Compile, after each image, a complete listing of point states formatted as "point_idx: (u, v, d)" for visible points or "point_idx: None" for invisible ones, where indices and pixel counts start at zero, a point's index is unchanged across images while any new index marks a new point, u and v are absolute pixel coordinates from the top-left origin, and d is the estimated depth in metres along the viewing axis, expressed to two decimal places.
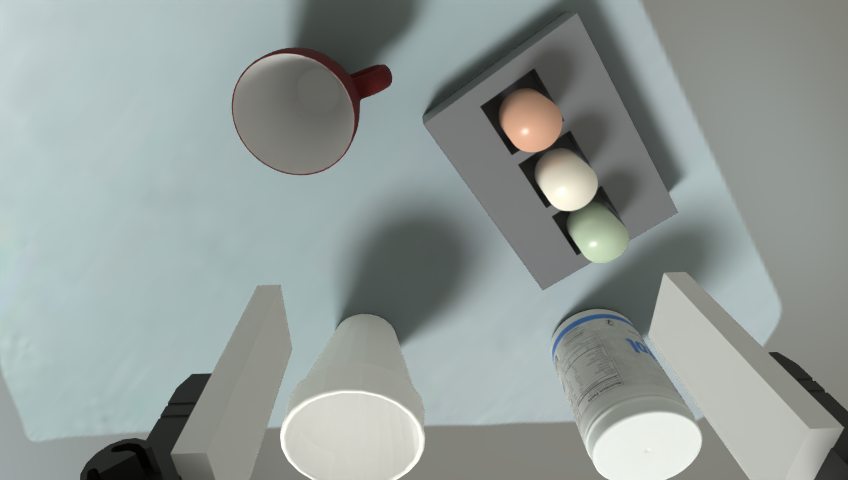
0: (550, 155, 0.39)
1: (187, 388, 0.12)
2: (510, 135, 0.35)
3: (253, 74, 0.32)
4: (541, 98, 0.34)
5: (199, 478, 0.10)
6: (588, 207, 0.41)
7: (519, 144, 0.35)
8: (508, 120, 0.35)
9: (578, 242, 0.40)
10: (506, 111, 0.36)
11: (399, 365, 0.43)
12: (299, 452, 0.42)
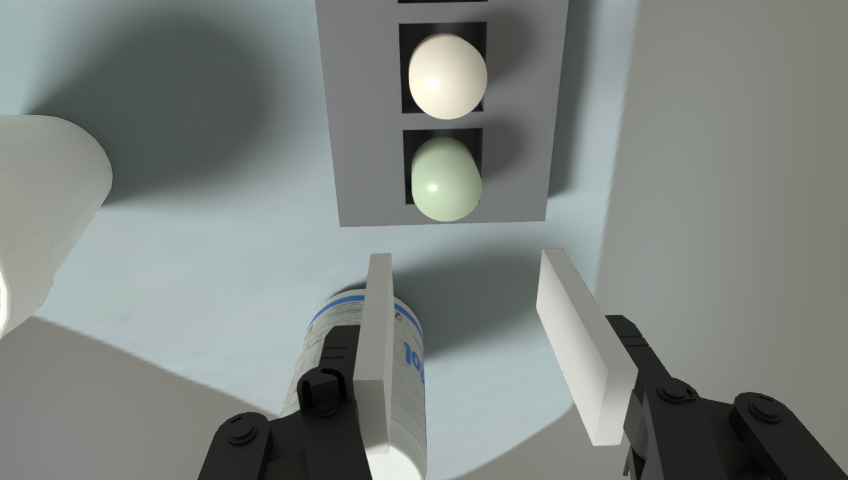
0: (445, 33, 0.26)
1: (335, 336, 0.14)
2: None
3: None
4: None
5: (371, 403, 0.12)
6: (452, 142, 0.29)
7: None
8: None
9: (415, 172, 0.27)
10: None
11: (56, 200, 0.25)
12: None
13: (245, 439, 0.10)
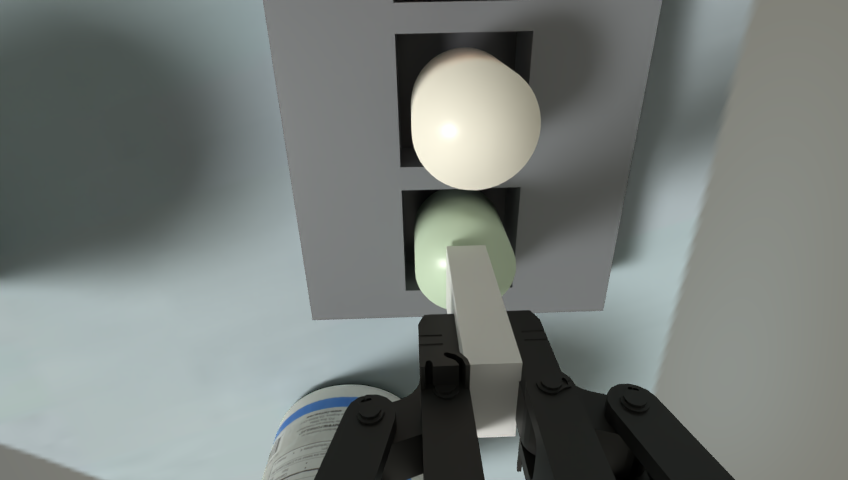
0: (469, 50, 0.16)
1: (427, 324, 0.15)
2: None
3: None
4: None
5: (479, 387, 0.13)
6: (471, 196, 0.20)
7: None
8: None
9: (419, 244, 0.19)
10: None
11: None
12: None
13: (372, 420, 0.11)
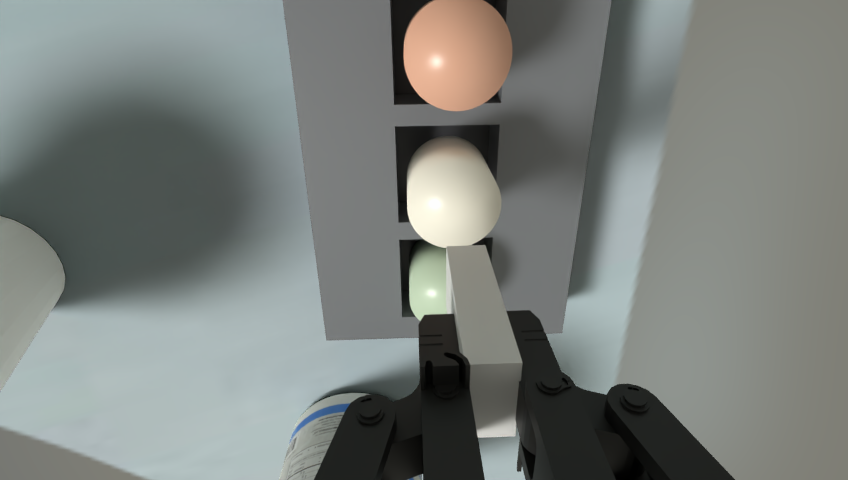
0: (450, 141, 0.22)
1: (427, 324, 0.15)
2: (407, 43, 0.17)
3: None
4: (496, 12, 0.17)
5: (479, 387, 0.13)
6: None
7: (413, 71, 0.18)
8: (419, 13, 0.17)
9: (413, 279, 0.25)
10: (425, 5, 0.18)
11: None
12: None
13: (372, 420, 0.11)
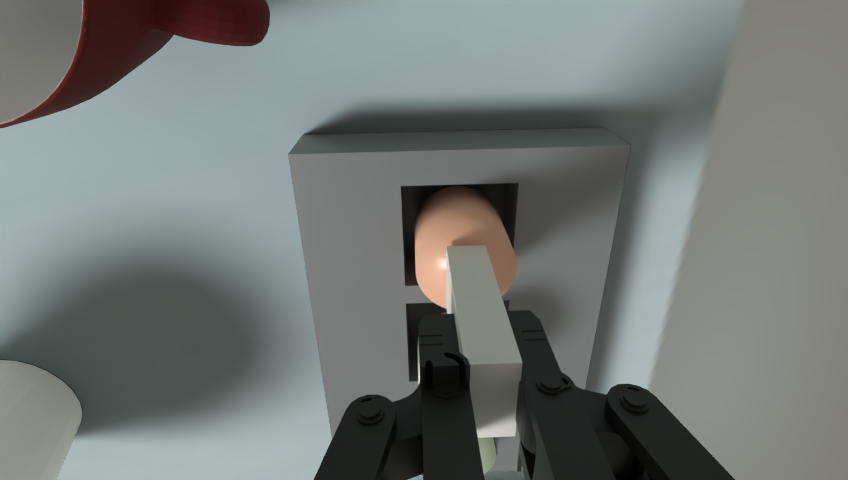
0: None
1: (427, 324, 0.15)
2: (418, 261, 0.18)
3: None
4: (501, 236, 0.18)
5: (479, 387, 0.13)
6: None
7: (424, 282, 0.19)
8: (430, 236, 0.18)
9: None
10: (435, 215, 0.19)
11: None
12: None
13: (372, 420, 0.11)
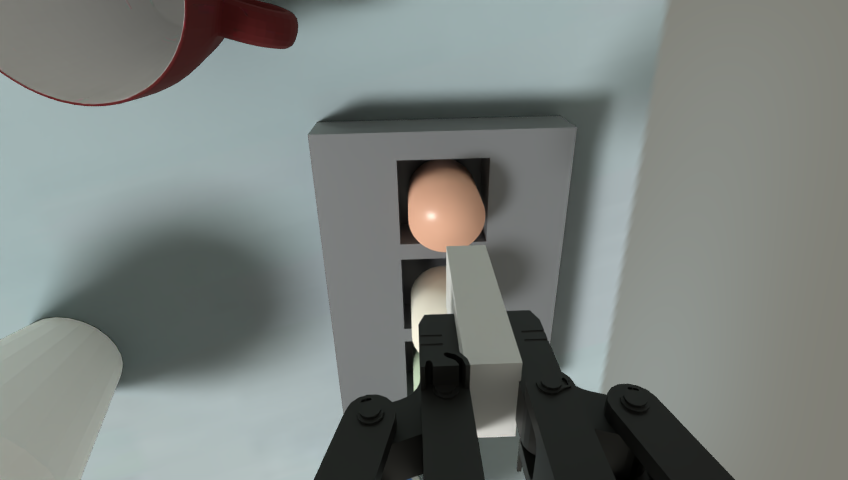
0: None
1: (427, 324, 0.15)
2: (410, 211, 0.24)
3: None
4: (473, 190, 0.24)
5: (479, 387, 0.13)
6: None
7: (415, 228, 0.25)
8: (419, 191, 0.24)
9: (416, 375, 0.30)
10: (423, 178, 0.25)
11: (72, 442, 0.26)
12: None
13: (373, 420, 0.11)
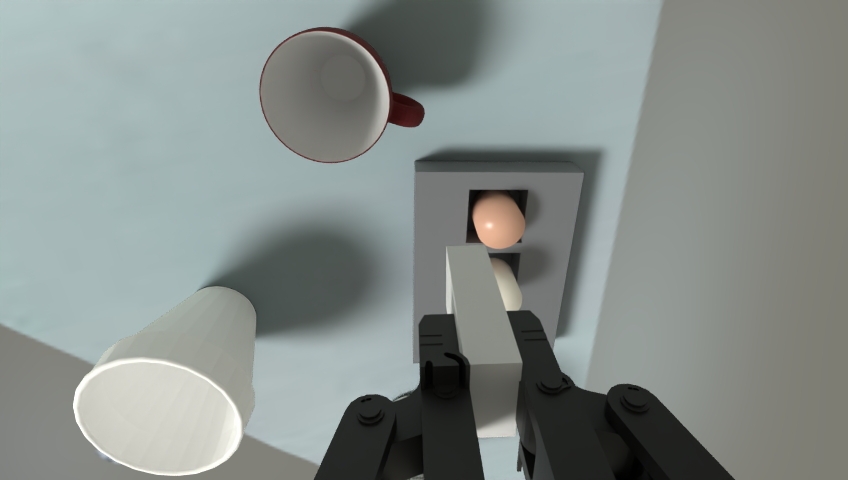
0: (495, 263, 0.42)
1: (428, 324, 0.15)
2: (478, 222, 0.39)
3: (310, 34, 0.29)
4: (518, 210, 0.38)
5: (479, 387, 0.13)
6: None
7: (480, 233, 0.39)
8: (485, 210, 0.38)
9: None
10: (486, 201, 0.40)
11: (250, 365, 0.40)
12: (89, 401, 0.36)
13: (372, 420, 0.11)
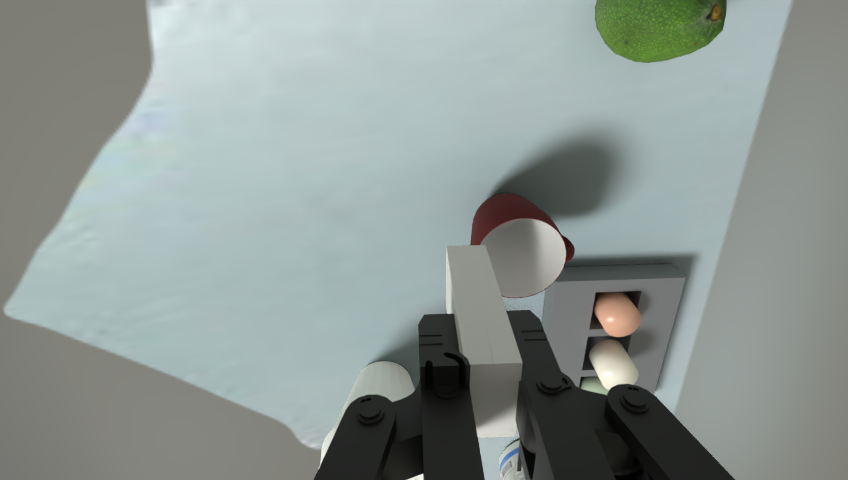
0: (613, 345, 0.53)
1: (428, 324, 0.15)
2: (605, 319, 0.50)
3: None
4: (637, 310, 0.50)
5: (479, 387, 0.13)
6: None
7: (606, 326, 0.51)
8: (611, 310, 0.50)
9: None
10: (608, 300, 0.51)
11: None
12: None
13: (373, 420, 0.11)
